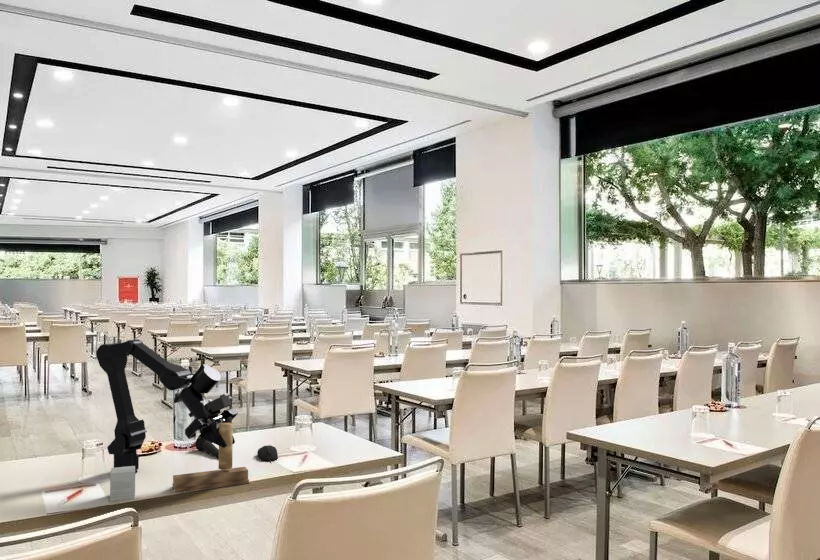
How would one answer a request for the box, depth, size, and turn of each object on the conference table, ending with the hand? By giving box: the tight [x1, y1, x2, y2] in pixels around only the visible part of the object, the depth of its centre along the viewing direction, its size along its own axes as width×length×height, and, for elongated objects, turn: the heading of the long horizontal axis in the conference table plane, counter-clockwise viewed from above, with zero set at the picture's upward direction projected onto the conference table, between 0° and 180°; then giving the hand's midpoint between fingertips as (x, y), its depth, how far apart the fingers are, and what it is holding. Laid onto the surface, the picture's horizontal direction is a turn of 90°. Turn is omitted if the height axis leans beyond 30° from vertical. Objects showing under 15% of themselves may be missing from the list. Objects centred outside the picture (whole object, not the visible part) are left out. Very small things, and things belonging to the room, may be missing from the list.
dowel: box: [218, 422, 234, 470], centre depth 189 cm, size 4×4×12 cm
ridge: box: [172, 466, 250, 493], centre depth 187 cm, size 20×6×4 cm, turn 117°
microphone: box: [194, 437, 219, 460], centre depth 221 cm, size 6×6×20 cm
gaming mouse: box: [256, 444, 279, 464], centre depth 216 cm, size 6×15×4 cm, turn 19°
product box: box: [109, 466, 136, 502], centre depth 177 cm, size 6×6×7 cm
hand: (229, 445), depth 189 cm, fingers closed on dowel, 4 cm apart
